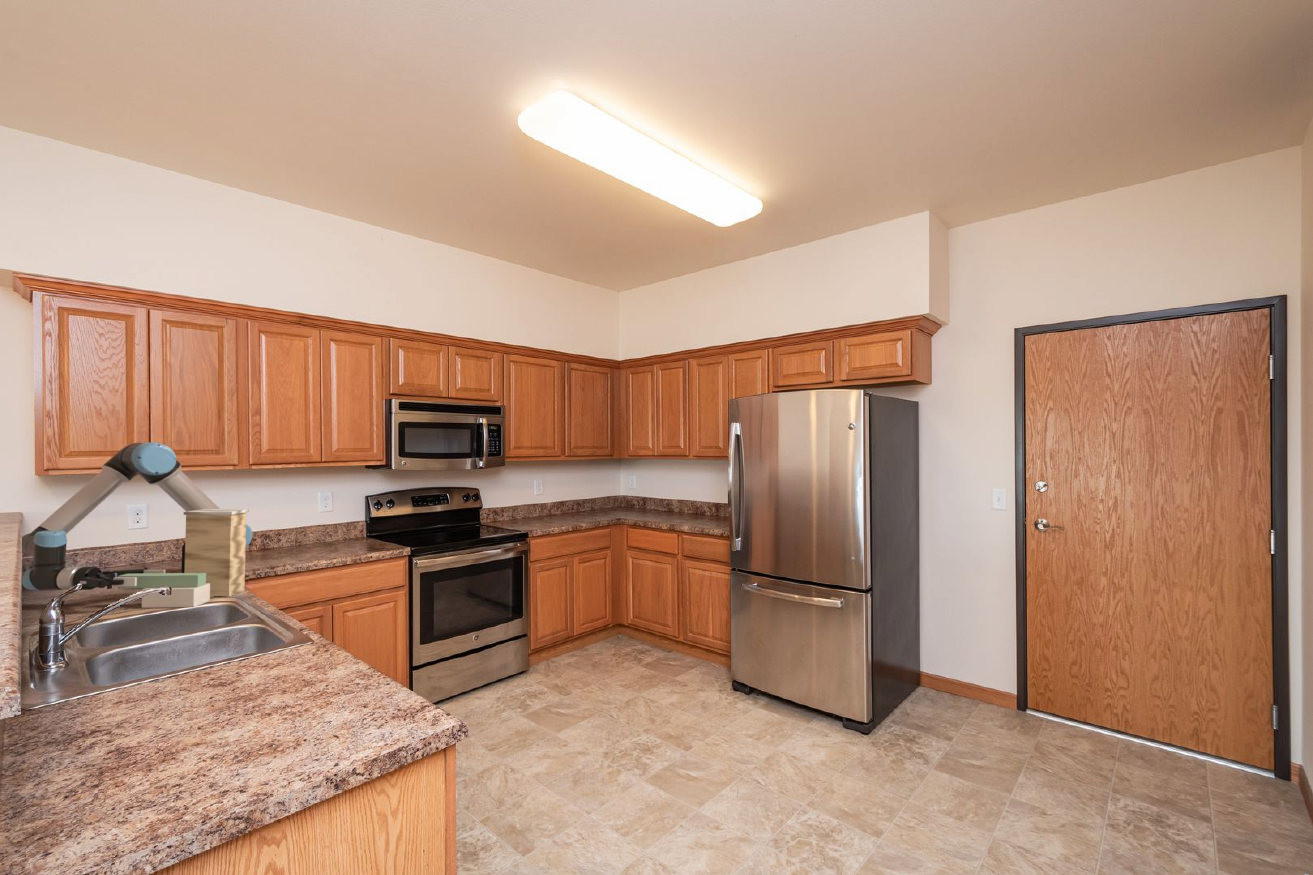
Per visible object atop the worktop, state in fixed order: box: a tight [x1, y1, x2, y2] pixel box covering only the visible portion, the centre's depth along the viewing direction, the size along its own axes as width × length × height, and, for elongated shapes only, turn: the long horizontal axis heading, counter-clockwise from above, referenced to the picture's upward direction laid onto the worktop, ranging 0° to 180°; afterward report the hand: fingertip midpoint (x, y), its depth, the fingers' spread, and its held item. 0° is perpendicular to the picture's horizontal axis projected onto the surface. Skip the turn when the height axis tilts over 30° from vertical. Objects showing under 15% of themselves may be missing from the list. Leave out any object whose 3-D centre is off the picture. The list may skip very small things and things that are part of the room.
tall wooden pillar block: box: [183, 508, 249, 598], centre depth 213 cm, size 10×16×30 cm, turn 95°
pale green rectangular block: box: [116, 572, 206, 589], centre depth 198 cm, size 4×25×4 cm, turn 95°
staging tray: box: [141, 583, 211, 609], centre depth 199 cm, size 8×16×6 cm, turn 95°
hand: (150, 577), depth 198 cm, fingers open, 12 cm apart
